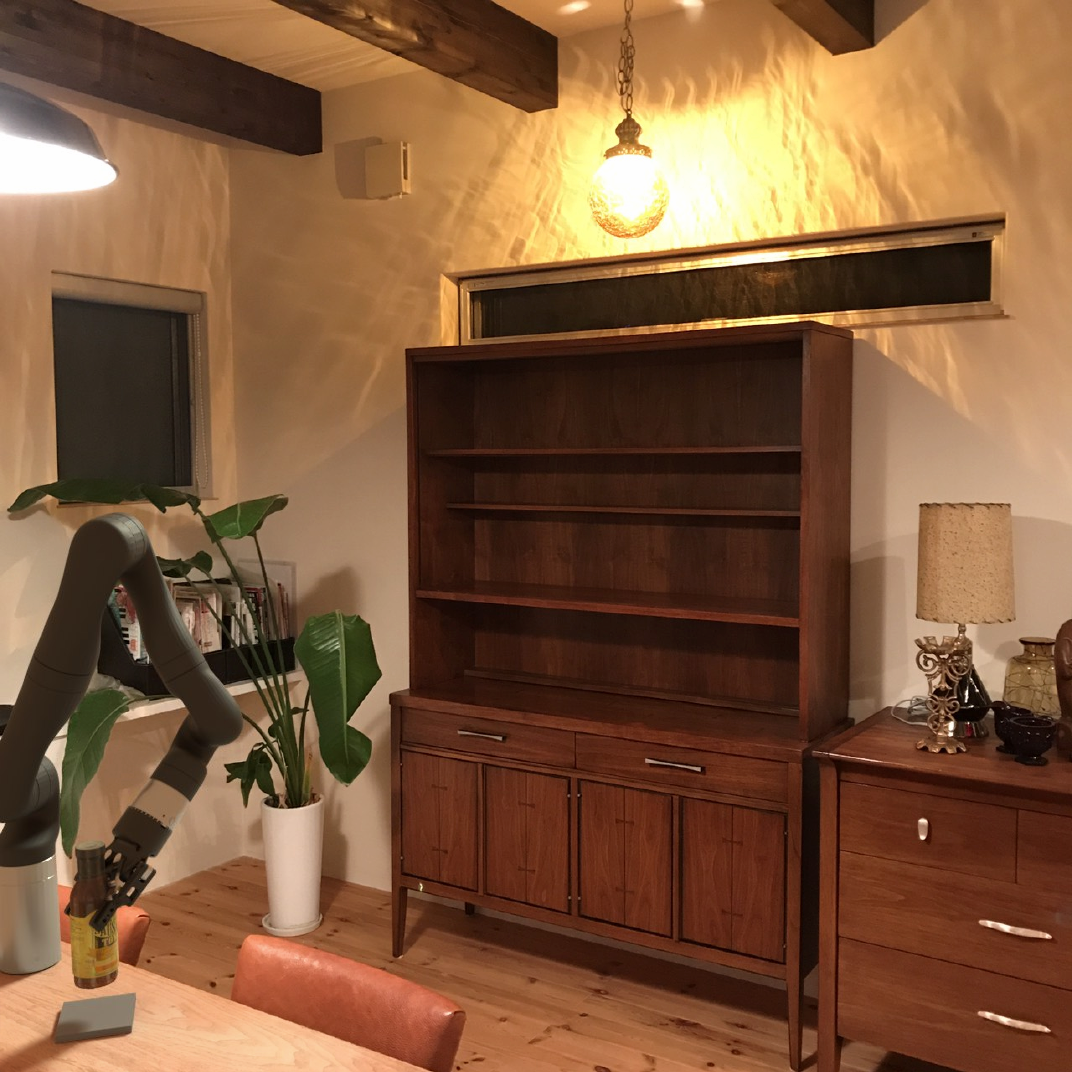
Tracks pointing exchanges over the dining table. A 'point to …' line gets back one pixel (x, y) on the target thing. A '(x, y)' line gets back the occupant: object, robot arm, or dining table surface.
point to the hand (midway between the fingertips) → (82, 922)
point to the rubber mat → (96, 1017)
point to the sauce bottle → (88, 946)
